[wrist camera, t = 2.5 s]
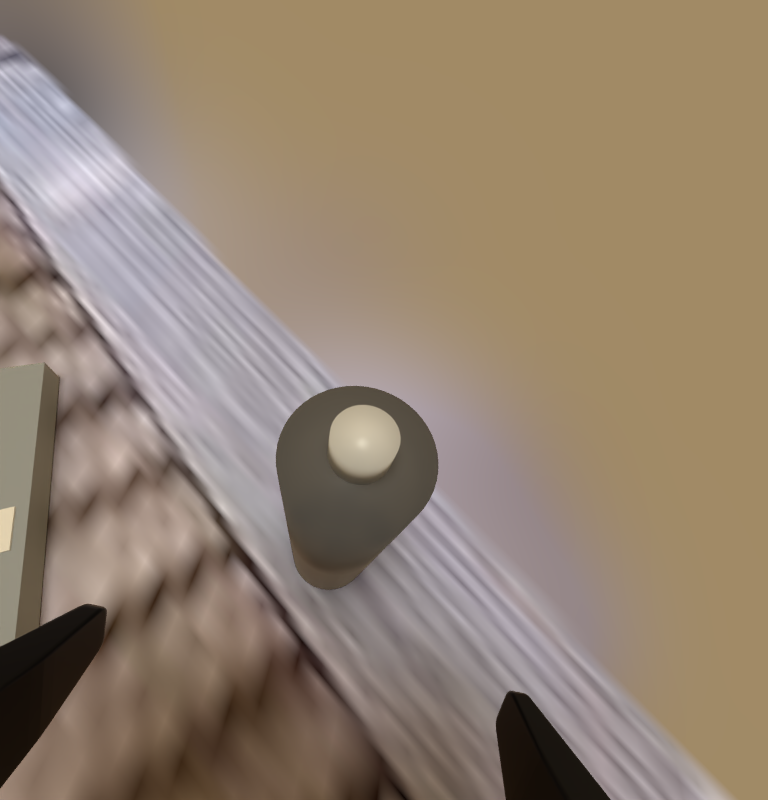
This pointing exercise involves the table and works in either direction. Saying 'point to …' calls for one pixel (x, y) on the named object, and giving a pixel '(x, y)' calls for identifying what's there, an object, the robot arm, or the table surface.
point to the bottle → (351, 479)
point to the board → (24, 491)
